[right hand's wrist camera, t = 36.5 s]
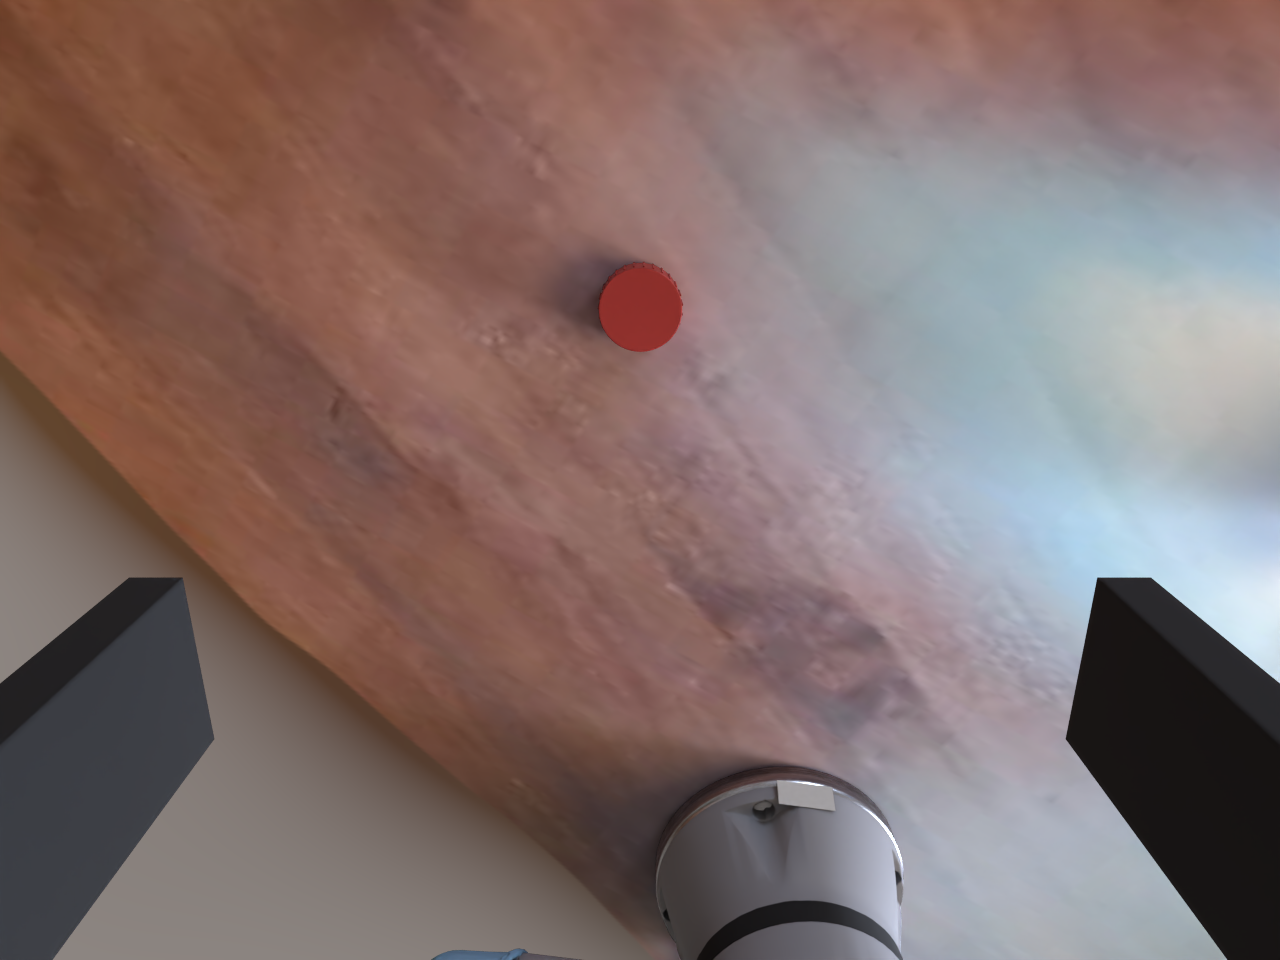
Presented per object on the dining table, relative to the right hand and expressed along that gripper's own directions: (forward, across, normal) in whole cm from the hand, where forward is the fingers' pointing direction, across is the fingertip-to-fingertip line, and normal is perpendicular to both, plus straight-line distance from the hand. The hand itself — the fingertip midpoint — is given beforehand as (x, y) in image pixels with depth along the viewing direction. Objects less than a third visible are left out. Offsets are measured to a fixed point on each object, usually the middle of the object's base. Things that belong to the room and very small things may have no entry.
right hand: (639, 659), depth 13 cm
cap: (+31, 0, 0) cm, 31 cm away
